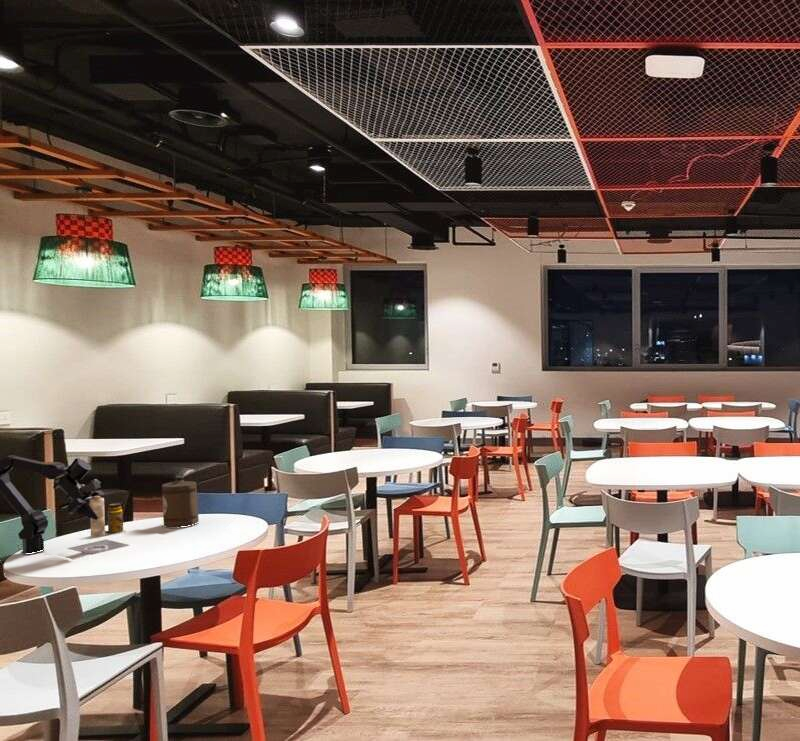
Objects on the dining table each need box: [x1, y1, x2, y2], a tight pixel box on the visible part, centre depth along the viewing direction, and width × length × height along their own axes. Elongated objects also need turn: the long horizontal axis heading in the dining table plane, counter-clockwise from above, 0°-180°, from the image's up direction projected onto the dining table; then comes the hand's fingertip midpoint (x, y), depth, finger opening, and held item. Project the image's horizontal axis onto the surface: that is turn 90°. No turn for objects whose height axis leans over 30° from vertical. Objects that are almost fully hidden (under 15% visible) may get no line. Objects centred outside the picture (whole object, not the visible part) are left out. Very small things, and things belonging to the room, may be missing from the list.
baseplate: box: [67, 538, 130, 555], centre depth 286 cm, size 16×18×2 cm
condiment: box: [104, 502, 127, 536], centre depth 315 cm, size 7×8×12 cm
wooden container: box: [161, 474, 199, 528], centre depth 325 cm, size 15×15×22 cm
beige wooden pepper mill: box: [90, 496, 106, 538], centre depth 281 cm, size 5×5×15 cm
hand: (100, 517), depth 281 cm, fingers closed on beige wooden pepper mill, 5 cm apart
